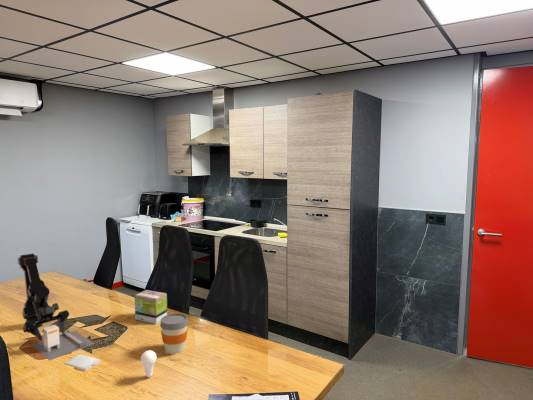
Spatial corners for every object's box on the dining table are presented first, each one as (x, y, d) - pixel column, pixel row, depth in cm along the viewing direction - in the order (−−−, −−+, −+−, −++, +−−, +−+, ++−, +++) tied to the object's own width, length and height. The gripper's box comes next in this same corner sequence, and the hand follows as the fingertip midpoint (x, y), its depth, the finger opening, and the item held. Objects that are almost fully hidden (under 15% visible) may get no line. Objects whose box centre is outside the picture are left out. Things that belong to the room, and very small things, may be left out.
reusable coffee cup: (193, 345, 177) (192, 315, 176) (179, 358, 165) (178, 326, 164) (171, 341, 181) (170, 311, 180) (155, 353, 169) (154, 322, 168)
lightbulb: (143, 373, 153) (142, 347, 152) (158, 372, 154) (157, 347, 153) (139, 381, 147) (138, 355, 146) (155, 380, 148) (154, 354, 147)
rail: (62, 335, 186) (62, 332, 186) (68, 333, 188) (68, 330, 188) (80, 347, 173) (79, 344, 173) (86, 345, 176) (86, 341, 175)
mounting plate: (31, 346, 176) (31, 344, 176) (74, 331, 192) (74, 330, 192) (49, 361, 162) (49, 360, 162) (94, 344, 178) (94, 343, 178)
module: (44, 348, 173) (42, 328, 172) (55, 344, 177) (54, 324, 176) (48, 352, 169) (47, 331, 168) (60, 347, 173) (58, 327, 172)
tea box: (134, 320, 206) (133, 294, 204) (146, 313, 215) (145, 289, 213) (156, 324, 200) (155, 298, 198) (168, 317, 209) (167, 292, 208)
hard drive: (64, 362, 160) (85, 368, 155) (80, 353, 167) (100, 359, 162) (64, 366, 160) (85, 372, 155) (80, 357, 167) (101, 362, 162)
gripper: (23, 305, 166) (33, 335, 160) (66, 293, 181) (77, 321, 175) (18, 317, 172) (28, 347, 166) (61, 305, 186) (71, 332, 180)
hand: (52, 336), depth 172 cm, fingers open, 9 cm apart
